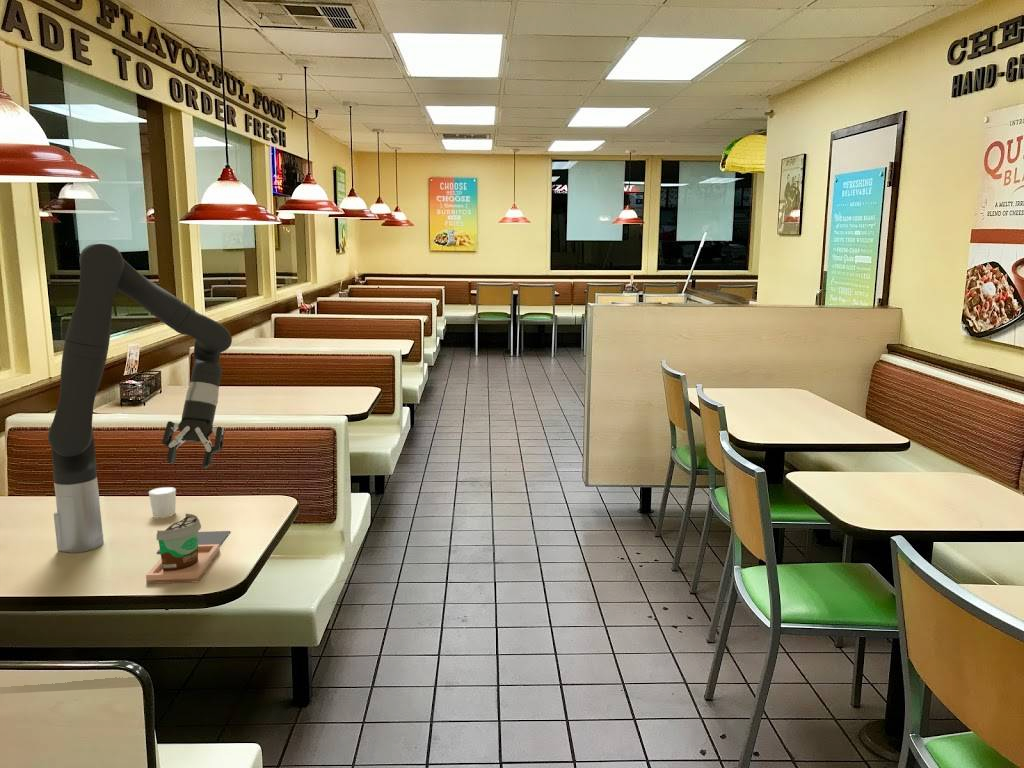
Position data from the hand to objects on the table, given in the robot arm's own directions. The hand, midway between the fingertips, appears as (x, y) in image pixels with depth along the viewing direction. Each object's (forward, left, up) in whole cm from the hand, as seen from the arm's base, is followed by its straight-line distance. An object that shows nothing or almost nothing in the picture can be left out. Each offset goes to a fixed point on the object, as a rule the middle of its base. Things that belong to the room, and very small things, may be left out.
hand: (188, 465), depth 192 cm
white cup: (-14, +20, -20) cm, 32 cm away
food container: (+4, -17, -19) cm, 26 cm away
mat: (+1, -2, -19) cm, 20 cm away
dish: (+3, -17, -19) cm, 26 cm away
